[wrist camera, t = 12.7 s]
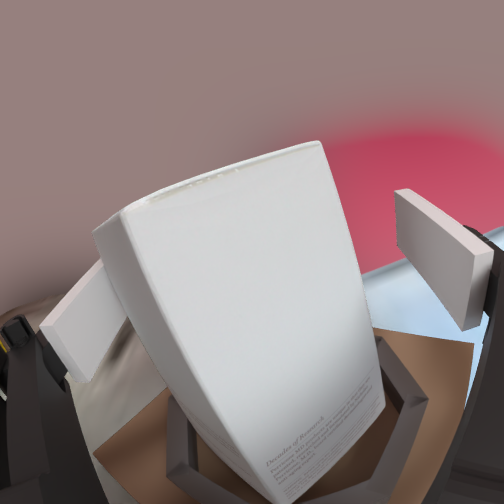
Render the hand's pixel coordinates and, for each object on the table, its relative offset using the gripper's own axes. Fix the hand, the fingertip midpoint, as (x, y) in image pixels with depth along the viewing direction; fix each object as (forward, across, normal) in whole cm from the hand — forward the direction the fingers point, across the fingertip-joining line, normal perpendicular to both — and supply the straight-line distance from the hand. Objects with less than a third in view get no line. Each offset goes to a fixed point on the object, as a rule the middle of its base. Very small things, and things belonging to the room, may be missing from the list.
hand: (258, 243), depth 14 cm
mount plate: (-3, 0, -11) cm, 11 cm away
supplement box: (-4, 0, -9) cm, 10 cm away
